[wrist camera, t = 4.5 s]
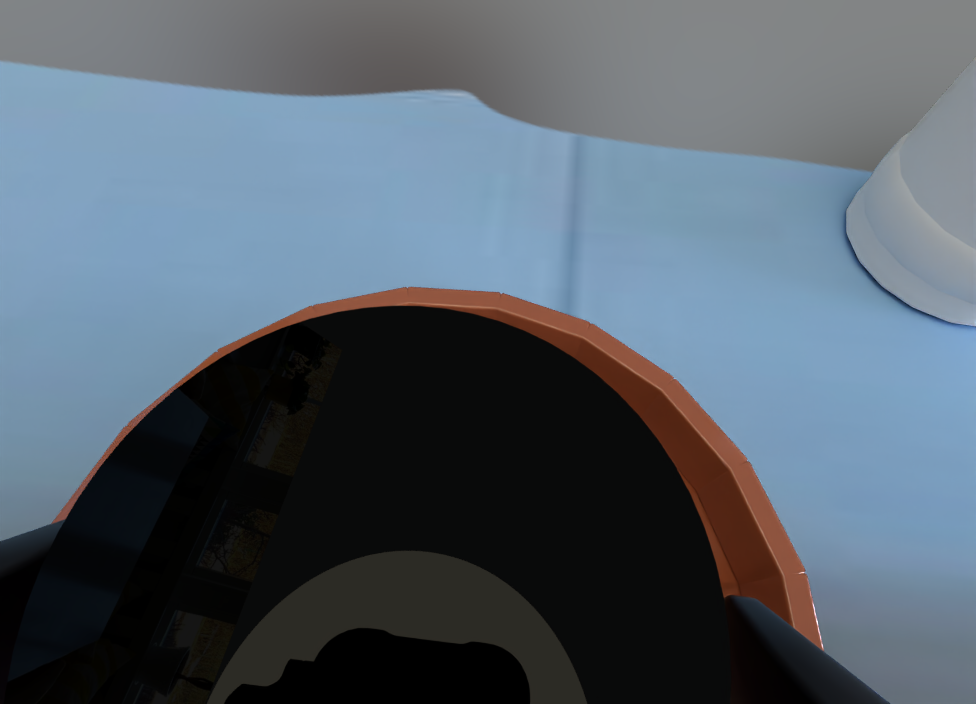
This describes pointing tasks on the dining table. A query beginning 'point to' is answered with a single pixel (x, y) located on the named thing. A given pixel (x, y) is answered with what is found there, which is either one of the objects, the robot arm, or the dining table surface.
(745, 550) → the bowl
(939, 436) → the dining table surface
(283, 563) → the supplement container
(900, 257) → the bottle
